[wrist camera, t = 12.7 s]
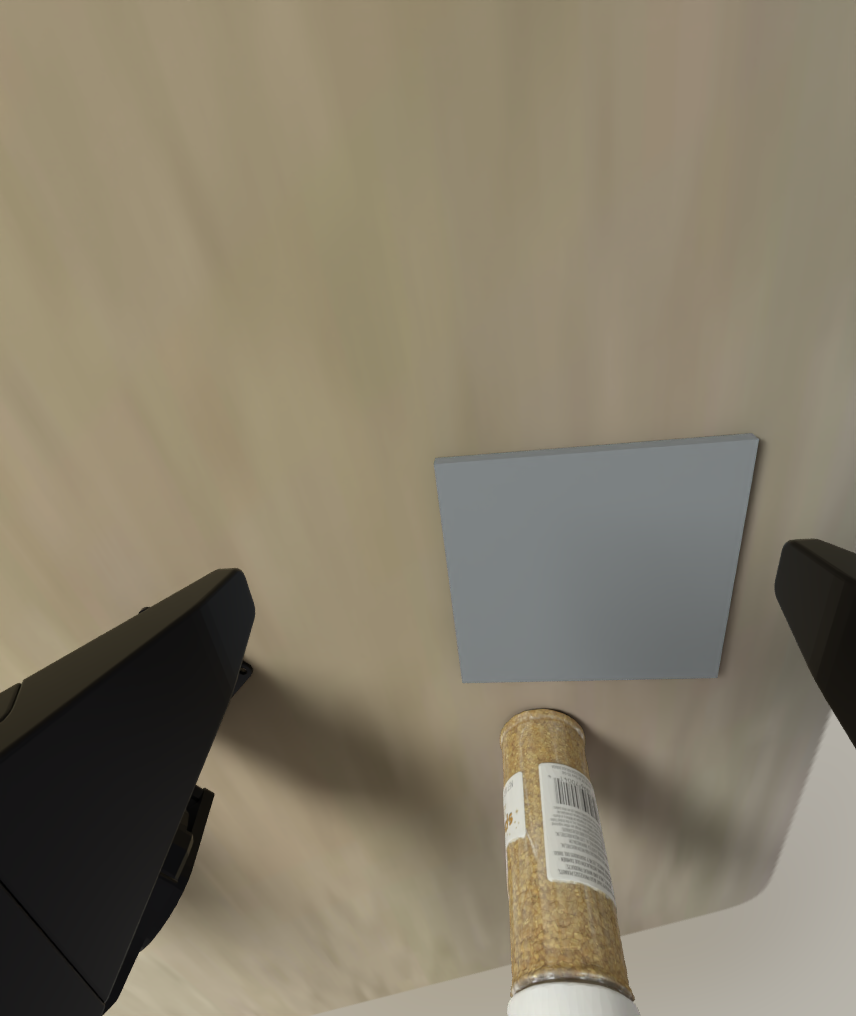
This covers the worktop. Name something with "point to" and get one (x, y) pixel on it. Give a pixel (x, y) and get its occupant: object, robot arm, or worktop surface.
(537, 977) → the sprinkles bottle
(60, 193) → the worktop surface
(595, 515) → the rest mat
